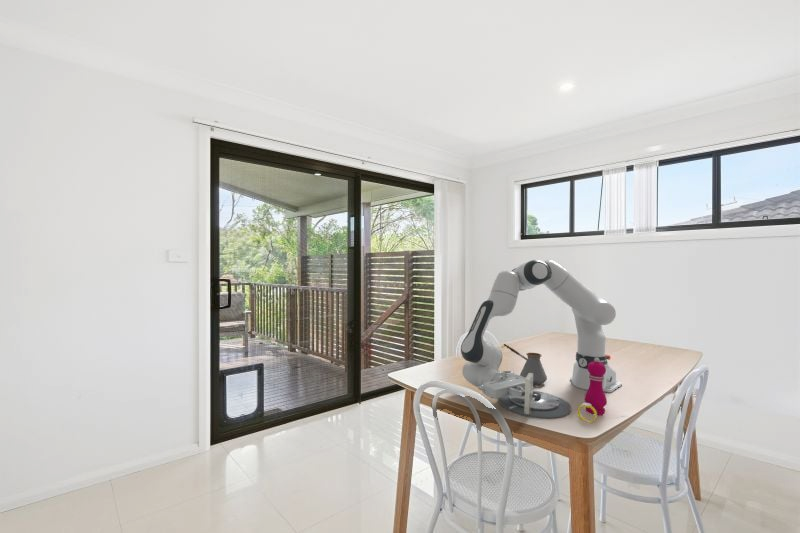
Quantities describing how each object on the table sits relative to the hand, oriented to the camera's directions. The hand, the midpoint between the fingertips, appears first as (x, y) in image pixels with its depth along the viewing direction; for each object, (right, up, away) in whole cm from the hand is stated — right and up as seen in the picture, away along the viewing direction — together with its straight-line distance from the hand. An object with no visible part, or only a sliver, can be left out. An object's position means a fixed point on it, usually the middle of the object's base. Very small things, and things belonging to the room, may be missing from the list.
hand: (524, 394), depth 134 cm
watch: (+21, -9, -3) cm, 23 cm away
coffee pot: (+13, -7, +40) cm, 43 cm away
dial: (+5, -7, +8) cm, 11 cm away
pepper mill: (+28, -8, +5) cm, 29 cm away
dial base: (+7, -8, +11) cm, 15 cm away
